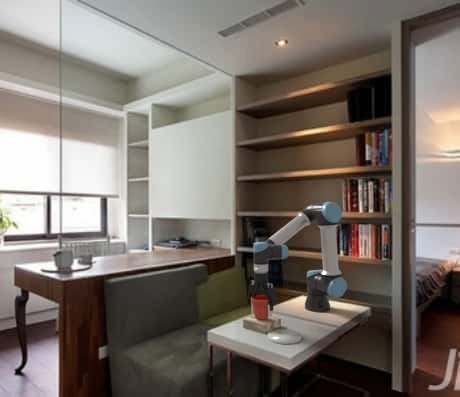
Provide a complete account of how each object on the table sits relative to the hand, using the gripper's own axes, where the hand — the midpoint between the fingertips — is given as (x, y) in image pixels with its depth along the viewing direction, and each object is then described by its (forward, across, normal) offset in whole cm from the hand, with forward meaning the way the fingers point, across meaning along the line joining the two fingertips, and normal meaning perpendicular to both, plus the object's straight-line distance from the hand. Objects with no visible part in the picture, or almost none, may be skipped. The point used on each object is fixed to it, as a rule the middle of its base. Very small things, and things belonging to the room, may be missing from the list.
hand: (261, 314), depth 178 cm
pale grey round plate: (+6, +17, -5) cm, 19 cm away
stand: (+6, 0, 0) cm, 6 cm away
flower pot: (+1, 0, 0) cm, 1 cm away
